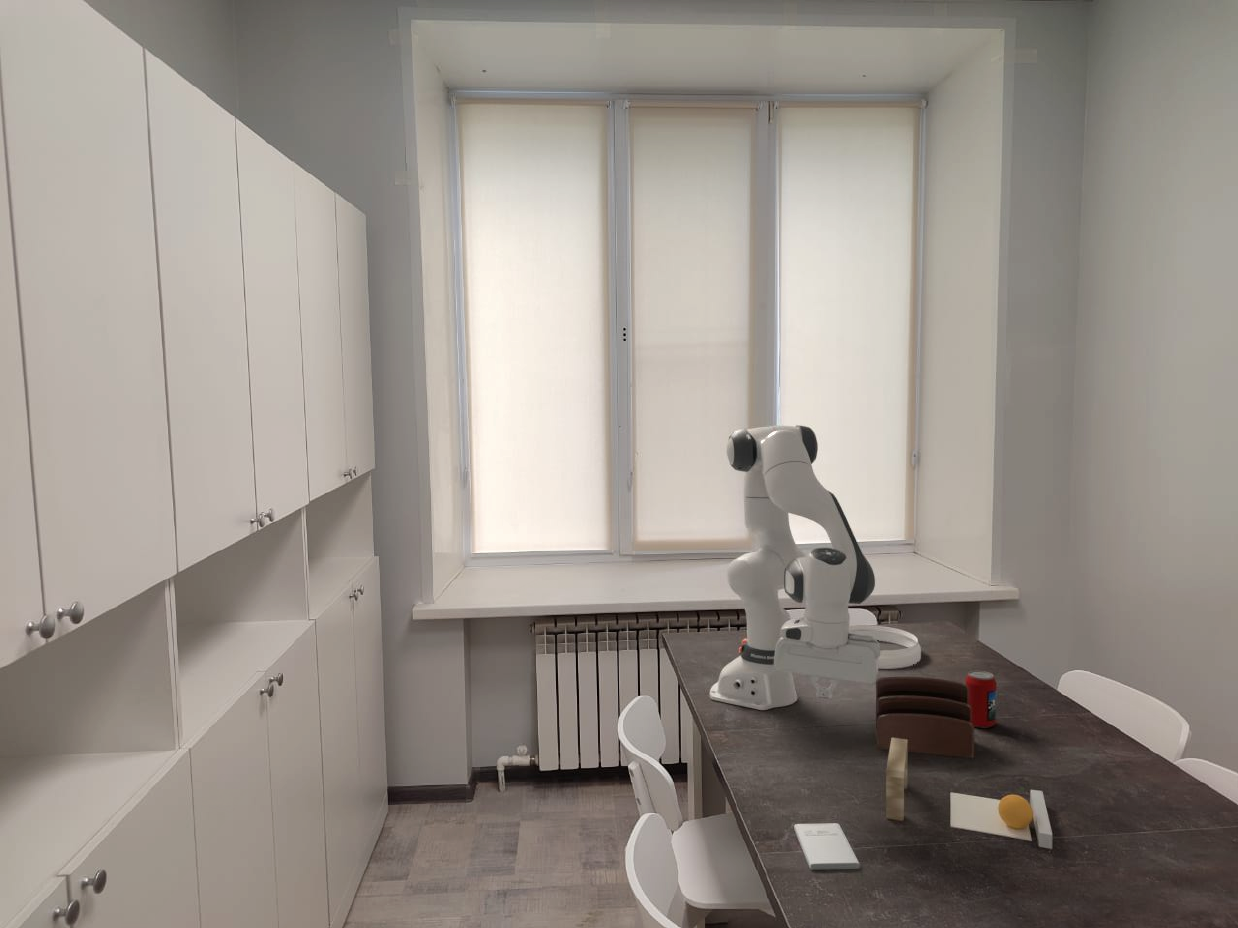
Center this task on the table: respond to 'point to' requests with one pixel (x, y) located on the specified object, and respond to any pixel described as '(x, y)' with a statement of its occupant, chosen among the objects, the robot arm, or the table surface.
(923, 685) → the letter holder
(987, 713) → the beverage can
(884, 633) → the white ring
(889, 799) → the bridge
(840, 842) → the external hard drive
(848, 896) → the table surface
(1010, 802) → the ball
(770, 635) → the robot arm
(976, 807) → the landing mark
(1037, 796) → the stopper
